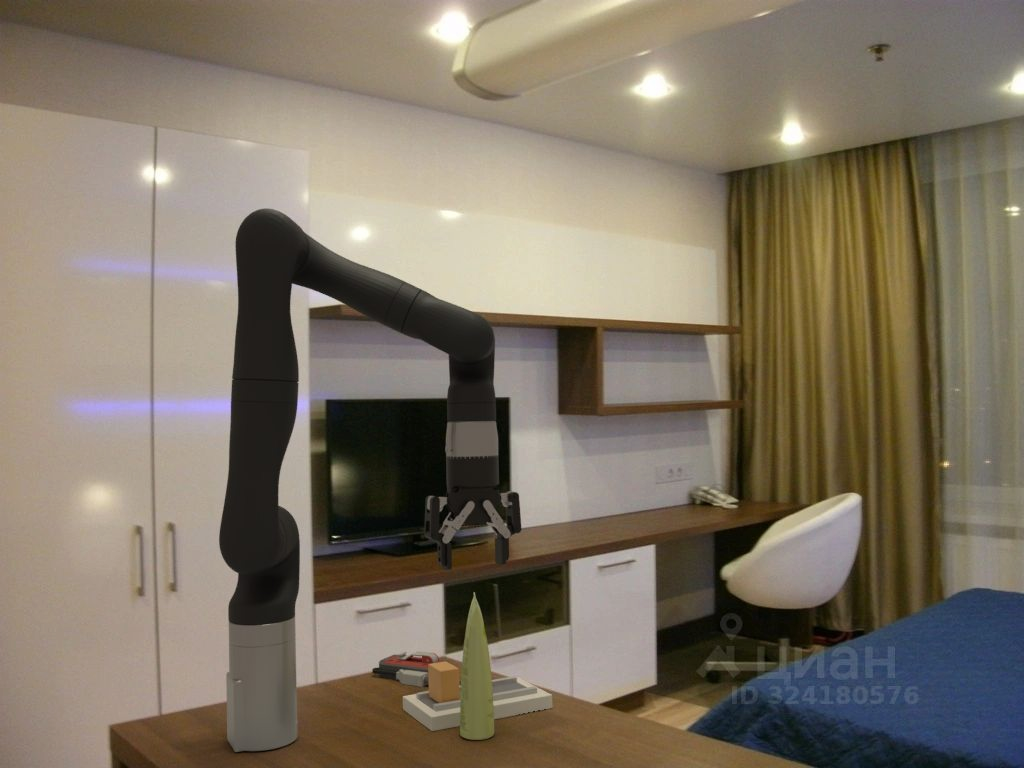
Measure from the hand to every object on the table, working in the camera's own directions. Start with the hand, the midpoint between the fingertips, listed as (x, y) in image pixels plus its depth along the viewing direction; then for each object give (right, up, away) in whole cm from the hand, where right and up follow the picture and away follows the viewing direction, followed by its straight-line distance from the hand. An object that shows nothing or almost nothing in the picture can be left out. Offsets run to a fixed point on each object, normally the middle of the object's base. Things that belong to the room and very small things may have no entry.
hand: (474, 566), depth 132 cm
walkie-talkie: (-10, -26, +28) cm, 40 cm away
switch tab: (-5, -22, +9) cm, 24 cm away
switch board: (0, -24, +11) cm, 27 cm away
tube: (0, -24, -1) cm, 24 cm away
